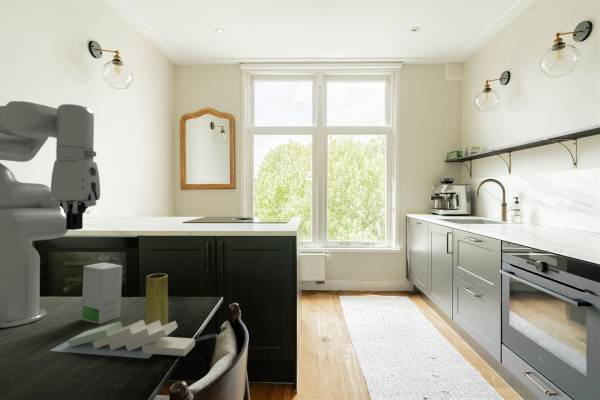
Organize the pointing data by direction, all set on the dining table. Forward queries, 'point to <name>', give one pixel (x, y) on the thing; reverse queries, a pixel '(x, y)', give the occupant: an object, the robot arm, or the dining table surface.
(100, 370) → the dining table surface
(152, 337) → the tile
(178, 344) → the tile
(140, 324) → the tile
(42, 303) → the dining table surface
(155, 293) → the vase
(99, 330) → the sage green rectangular block
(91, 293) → the skincare box
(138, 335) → the tile
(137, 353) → the runner mat
